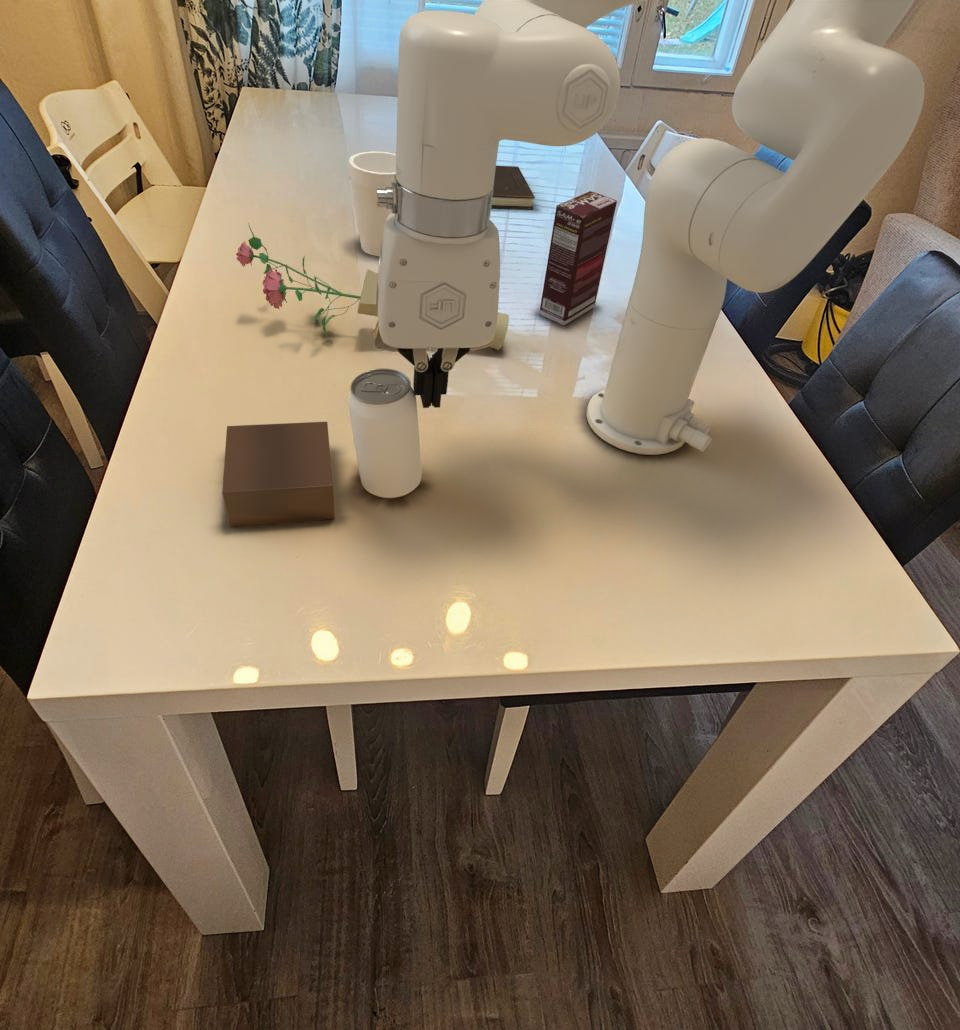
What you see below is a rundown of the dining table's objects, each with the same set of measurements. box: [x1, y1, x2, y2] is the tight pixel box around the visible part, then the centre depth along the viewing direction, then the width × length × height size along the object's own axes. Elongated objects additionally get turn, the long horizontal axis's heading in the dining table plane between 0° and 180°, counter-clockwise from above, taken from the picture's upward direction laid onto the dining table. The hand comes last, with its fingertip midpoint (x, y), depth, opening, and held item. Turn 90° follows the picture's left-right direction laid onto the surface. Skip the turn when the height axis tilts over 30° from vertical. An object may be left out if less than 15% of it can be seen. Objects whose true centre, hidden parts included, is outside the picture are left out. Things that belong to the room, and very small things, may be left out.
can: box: [348, 367, 423, 499], centre depth 70 cm, size 6×6×12 cm
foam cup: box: [348, 150, 396, 257], centre depth 109 cm, size 10×9×13 cm
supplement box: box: [538, 190, 618, 326], centre depth 99 cm, size 9×5×16 cm, turn 141°
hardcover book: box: [491, 164, 536, 210], centre depth 133 cm, size 16×23×2 cm
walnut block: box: [221, 421, 336, 527], centre depth 71 cm, size 10×10×4 cm
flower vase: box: [235, 222, 510, 351], centre depth 92 cm, size 12×12×35 cm
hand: (429, 399), depth 68 cm, fingers closed
